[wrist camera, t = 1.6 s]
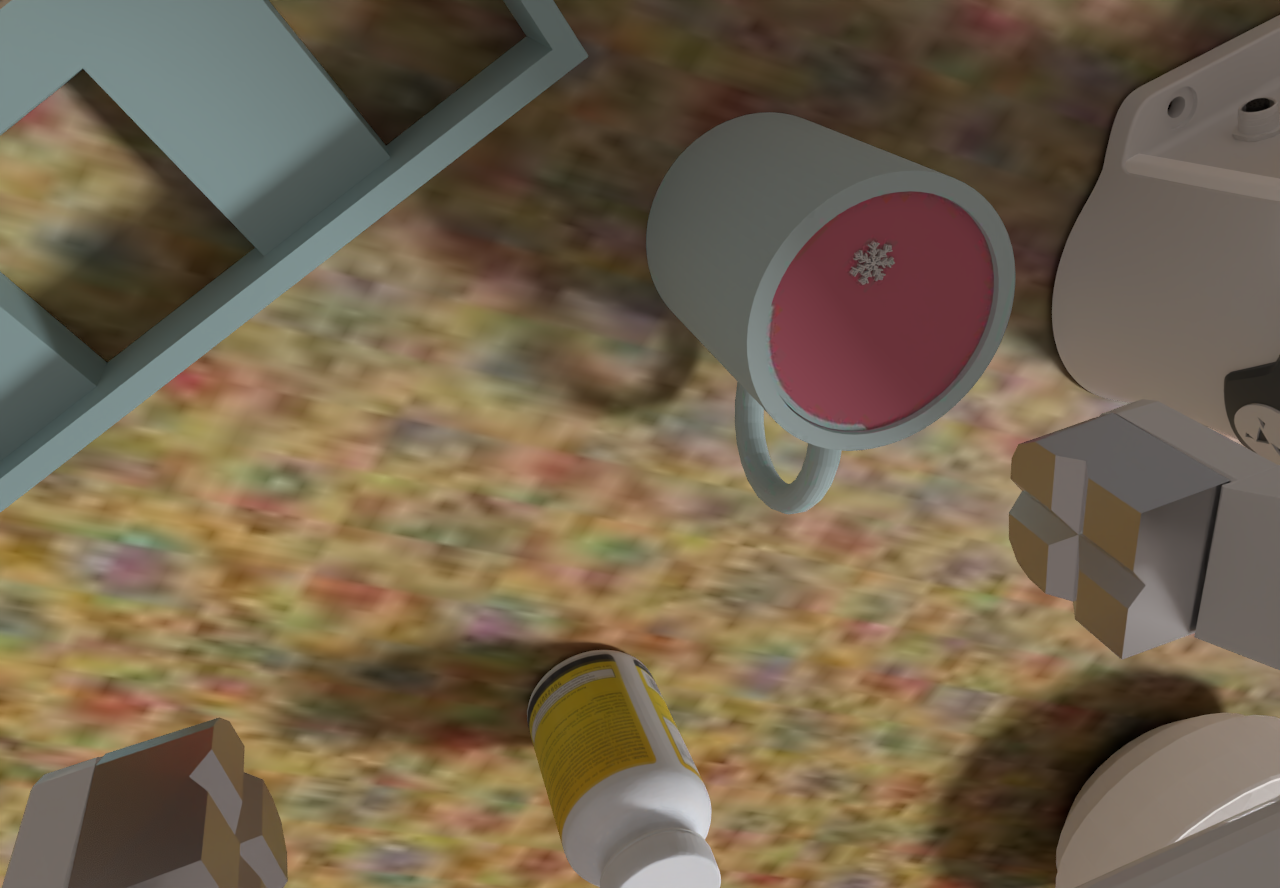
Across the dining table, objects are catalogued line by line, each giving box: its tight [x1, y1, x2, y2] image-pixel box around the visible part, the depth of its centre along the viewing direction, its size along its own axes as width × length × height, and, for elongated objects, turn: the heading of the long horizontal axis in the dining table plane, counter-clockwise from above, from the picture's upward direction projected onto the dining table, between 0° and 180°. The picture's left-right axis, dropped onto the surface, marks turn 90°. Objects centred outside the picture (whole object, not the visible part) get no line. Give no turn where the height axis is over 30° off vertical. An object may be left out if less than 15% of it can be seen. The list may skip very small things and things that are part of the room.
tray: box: [0, 0, 589, 512], centre depth 27 cm, size 26×18×4 cm
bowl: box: [1056, 713, 1280, 888], centre depth 63 cm, size 20×20×8 cm
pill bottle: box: [527, 650, 721, 888], centre depth 42 cm, size 6×6×12 cm
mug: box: [646, 112, 1015, 514], centre depth 35 cm, size 14×9×10 cm
